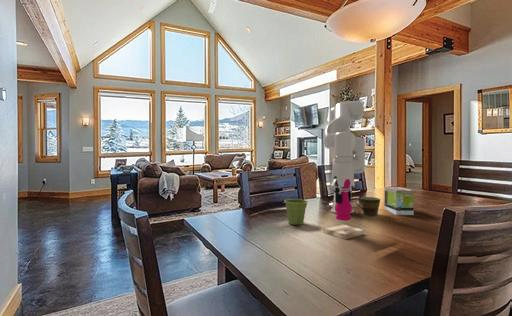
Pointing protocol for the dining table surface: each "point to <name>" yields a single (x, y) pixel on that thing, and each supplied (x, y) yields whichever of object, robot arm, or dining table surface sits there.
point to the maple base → (343, 231)
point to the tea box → (399, 200)
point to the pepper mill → (344, 204)
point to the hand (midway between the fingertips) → (343, 201)
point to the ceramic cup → (369, 205)
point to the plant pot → (295, 210)
